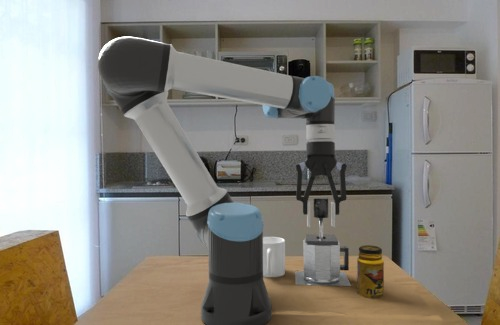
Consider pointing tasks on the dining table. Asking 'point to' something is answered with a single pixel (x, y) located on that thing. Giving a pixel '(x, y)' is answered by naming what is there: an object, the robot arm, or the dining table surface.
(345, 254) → the carafe
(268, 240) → the cup
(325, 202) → the plunger
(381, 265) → the condiment
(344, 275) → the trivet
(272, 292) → the dining table surface
